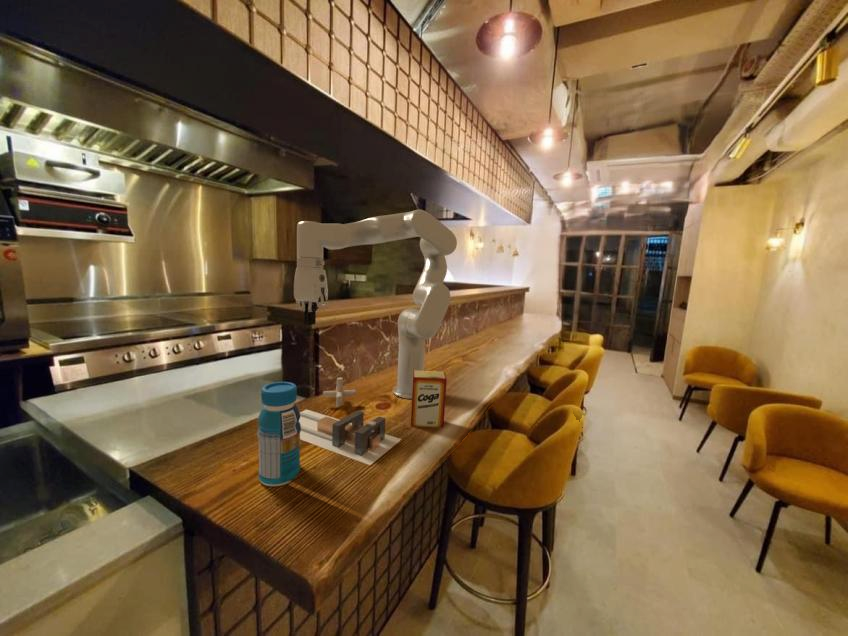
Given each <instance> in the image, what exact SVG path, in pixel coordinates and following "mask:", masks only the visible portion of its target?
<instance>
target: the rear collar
mask: <svg viewBox="0 0 848 636" xmlns="http://www.w3.org/2000/svg"><path fill="white" fill-rule="evenodd" d="M364 417H365V411H361V410H359V409H358V410H356V411H353V412H352V413H350V414H349V415H346V416H345V417H342V418H341V419H339V421H337V422H336V423H334V424H333V426H332V446H335V447H338V448H339V447H340V446H342V445H343V444H345V426H347V425H348V424H350V423H352V425H354V426H357V427H360V428H362V427H363V426H364Z"/></svg>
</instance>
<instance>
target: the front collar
mask: <svg viewBox="0 0 848 636" xmlns="http://www.w3.org/2000/svg"><path fill="white" fill-rule="evenodd" d="M371 431H373V432H376V433H379V434H380V441H382V440H383V439H384V438H385V434H386V418H385V417H382V416H377V417H376V418H374V419H372V420H369V421H366V422H365V425H363V427H362V428H360V429H359V430H357V431H355V454H357V455H360V456H362V455H363V454H365V453H366V452H367V449H368V433H370V432H371Z"/></svg>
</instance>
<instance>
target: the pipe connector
mask: <svg viewBox="0 0 848 636" xmlns="http://www.w3.org/2000/svg"><path fill="white" fill-rule="evenodd" d="M343 380H344V379H343V377H337V378H336V388H335V389H336V390H323V392H322V398H329V397H332V398H333V397H336V401H335V403H336V404H335V405H336V406H337V407H342V406H343V400H344V399H343V397H351V396H356V395H357V394H356V393H357V392H356V389H345V390H343V389H344V388H343V385H344V384H343V383H344V381H343Z"/></svg>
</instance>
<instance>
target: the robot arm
mask: <svg viewBox="0 0 848 636" xmlns="http://www.w3.org/2000/svg"><path fill="white" fill-rule="evenodd" d="M296 225H297V226H296V268H295V273H294V281H293V297H294V299H295V304H297V305H299V306H300V307H301V311H302V312H303V325H306V326H311V325H315V324H316V323H317V321H316V317H317V316H316V312H318V310H319V308H321V307H325V305H326V304H325V303H326V302H327V301H328V298H329V288H328V279H327V278H328V277H327V273H326V269H324V266H325V265H326V261H324V248H325V249H328V250H331V251H332V250H341V249H345V248H348V247H349V248H350V247H355V246H362V245H363V246H364V245H377V244H383V243H388V242H395V241H399V240H405V239H406V240H407V239H411V238H417V237H420V241H419V247H420V250H421V251H420V252H421V253H422V255H423V257H424V258H423V259H424V267H423V269H422V273H421V274H420V277H419V279H418V281H417V283H416V285H415V287H414V289H413V293H412V300H413V303H415V305H417V306H419V307H420V309H419V308H412V307H409V308H406V309H404V310H402V312H401V313H399V315H398V319H397V331H398V357H397V378H396V379H397V380H396V386H394V387H392V394H393V393H394V394H395V395H394V394H393V395H394V396H396V397H398V396H399V397H398V398H401V397H402V398H401V399H409V400H410V399H411V400H412V386H413V370H417V371H425V370H424V369H425V368H424V366H425V352H426V350H425V349H426V344H425V340H429V339H430V340H431V339H432V338H434V336H436V334H437V333H438V331H439V329H440V327H441V324H442V322H443V320H444V319H445V318H444V317H445V316H446V313H447V312H448V308H449V306H450V304H451V293H450V289H449V287H447V286H446V285H445V284H444V282H445V278H446V275H447V272H448V265H447V263H448V262H447V259H446V256H449V255H451V254H453V253H454V252H455V250H456V248H457V246H458V241H457V238H456V235H455V234H454V232H453V231H452V230H450V229H449V228H448V227H447V226H446V225H444V223H442V222H441V221H440V220H438V219H437V217H434V215H432V214H431V213H430V212H427V211H425V210H423V209H415V210H412V211H406V212H400V213H394V214H386V215H378V216H373V217H368V218H366V219H362V220H360V221H359V220H358V221H355V222H349V223H344V224H342V223H336V222H335V223H333V222H332V223H320V222H317V221H311V220H310V221H309V220H301V221H299V222H298V223H297V224H296Z"/></svg>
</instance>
